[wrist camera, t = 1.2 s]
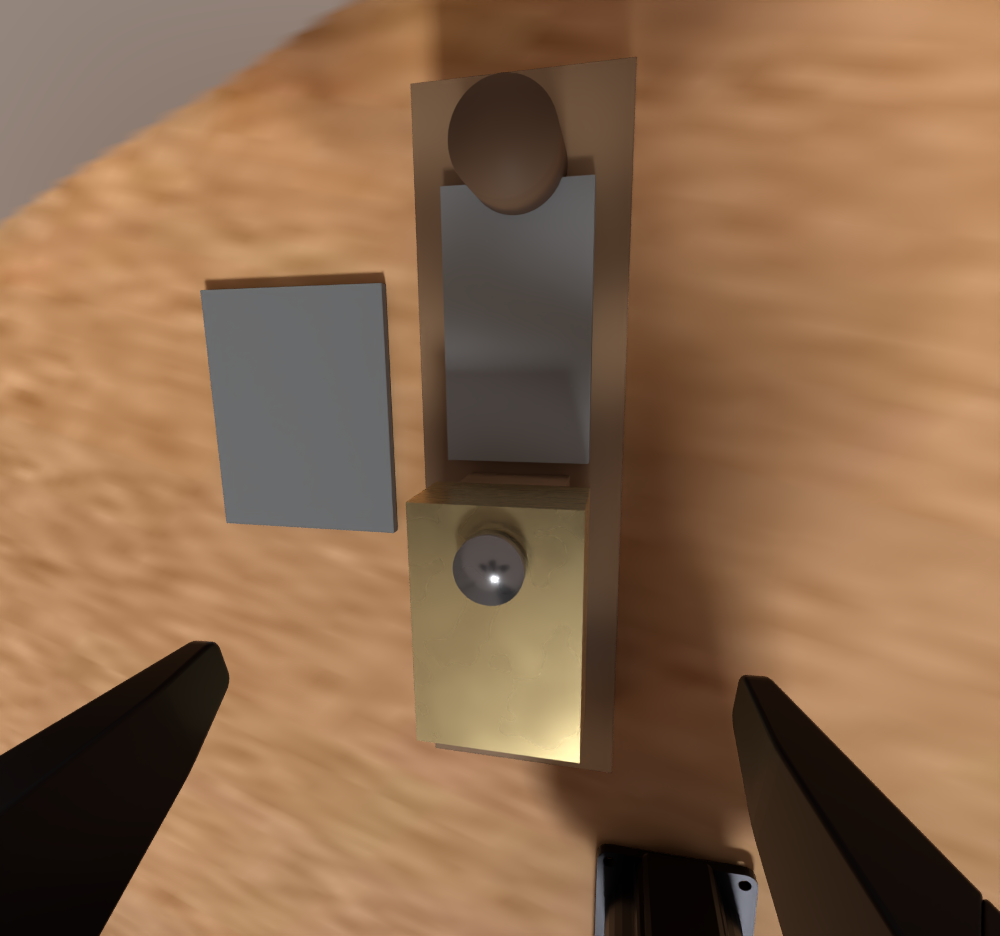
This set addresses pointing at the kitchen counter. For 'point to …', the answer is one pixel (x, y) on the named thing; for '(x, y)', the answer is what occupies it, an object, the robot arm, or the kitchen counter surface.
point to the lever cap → (500, 616)
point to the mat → (303, 405)
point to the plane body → (531, 307)
